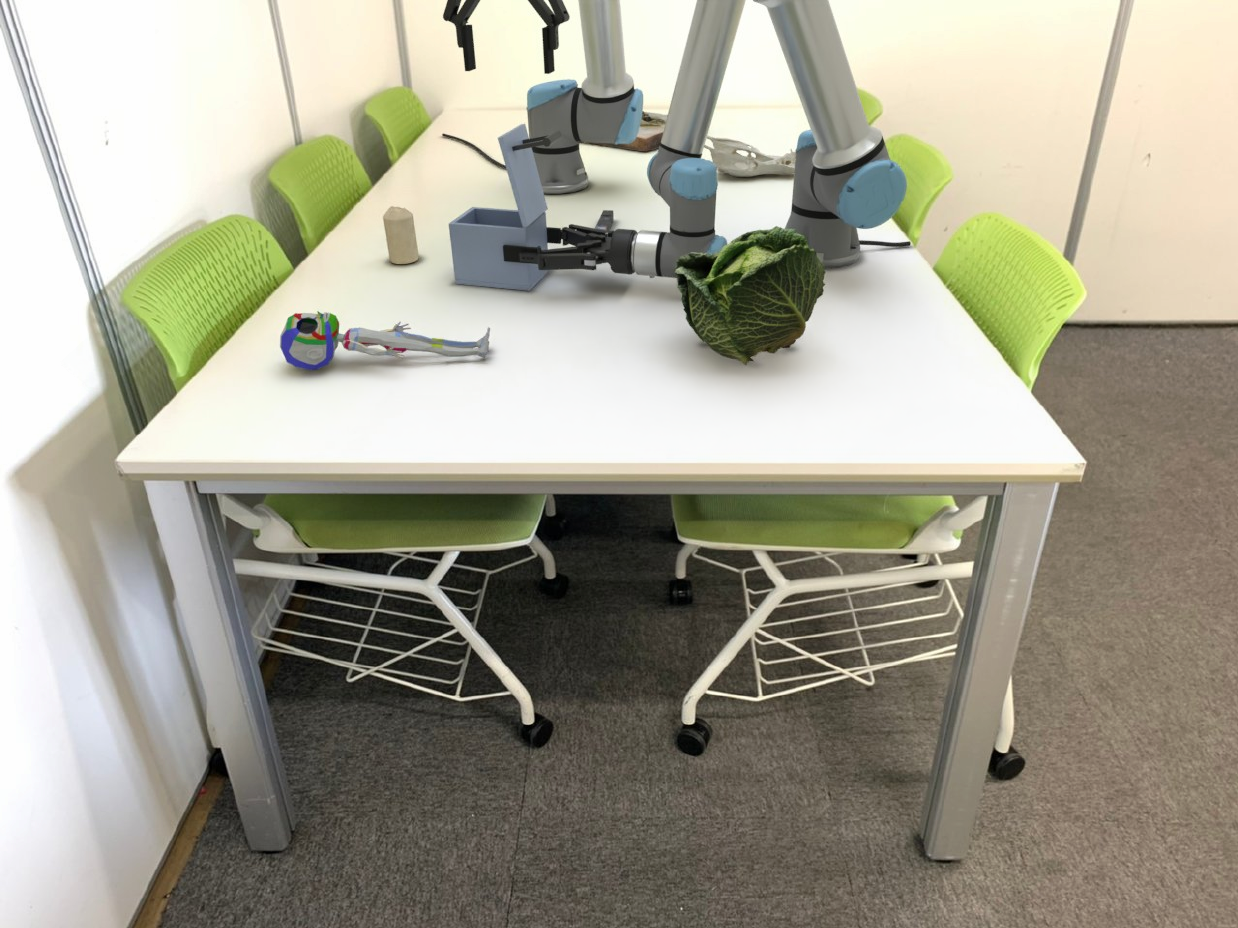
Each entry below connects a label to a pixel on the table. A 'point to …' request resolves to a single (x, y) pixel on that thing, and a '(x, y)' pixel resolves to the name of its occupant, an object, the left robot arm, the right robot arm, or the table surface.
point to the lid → (525, 170)
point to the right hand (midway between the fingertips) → (515, 243)
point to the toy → (360, 341)
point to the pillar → (605, 220)
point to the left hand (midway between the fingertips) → (509, 71)
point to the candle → (400, 235)
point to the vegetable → (751, 292)
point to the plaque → (645, 133)
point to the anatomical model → (748, 159)
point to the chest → (495, 248)
